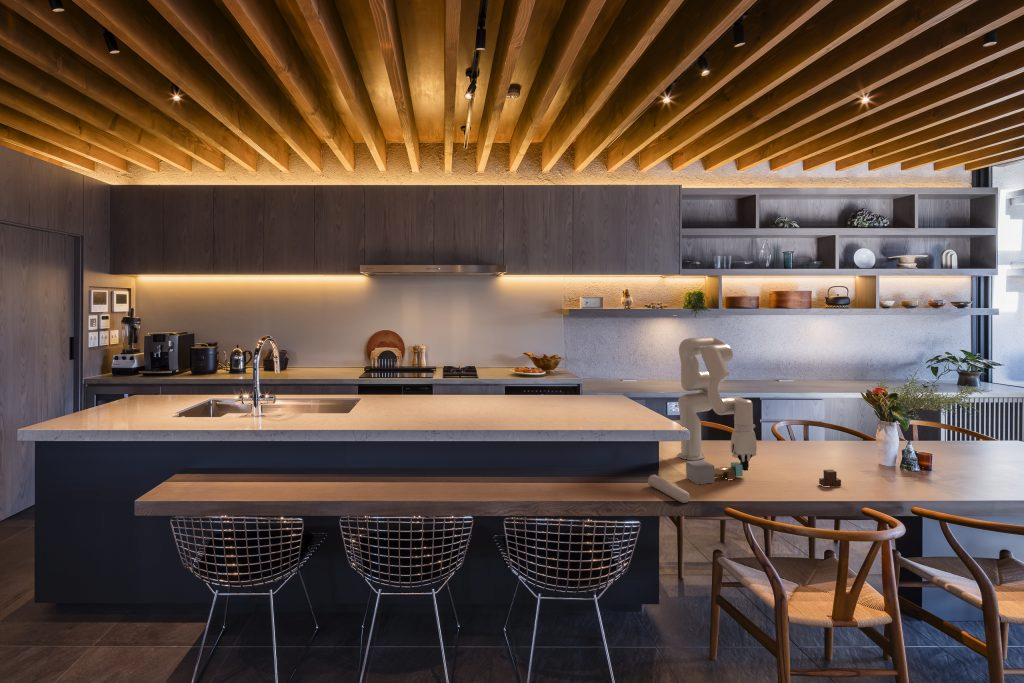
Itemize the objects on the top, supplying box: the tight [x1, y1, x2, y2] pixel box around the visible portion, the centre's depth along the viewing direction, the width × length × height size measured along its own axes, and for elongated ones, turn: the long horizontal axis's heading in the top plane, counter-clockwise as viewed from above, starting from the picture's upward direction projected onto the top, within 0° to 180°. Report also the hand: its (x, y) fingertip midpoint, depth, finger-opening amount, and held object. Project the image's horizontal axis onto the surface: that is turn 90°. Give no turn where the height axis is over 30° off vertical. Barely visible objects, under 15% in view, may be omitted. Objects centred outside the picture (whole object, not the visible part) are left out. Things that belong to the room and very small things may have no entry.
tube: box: [647, 474, 691, 504], centre depth 244 cm, size 5×5×25 cm
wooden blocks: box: [818, 469, 842, 487], centre depth 245 cm, size 15×15×7 cm
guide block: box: [719, 466, 736, 480], centre depth 263 cm, size 7×3×4 cm, turn 9°
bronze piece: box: [714, 461, 744, 478], centre depth 262 cm, size 4×18×5 cm, turn 99°
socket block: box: [685, 459, 716, 486], centre depth 261 cm, size 10×8×8 cm
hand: (744, 469), depth 264 cm, fingers closed
